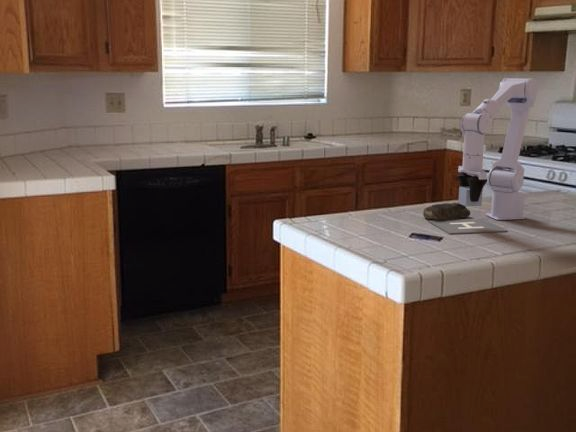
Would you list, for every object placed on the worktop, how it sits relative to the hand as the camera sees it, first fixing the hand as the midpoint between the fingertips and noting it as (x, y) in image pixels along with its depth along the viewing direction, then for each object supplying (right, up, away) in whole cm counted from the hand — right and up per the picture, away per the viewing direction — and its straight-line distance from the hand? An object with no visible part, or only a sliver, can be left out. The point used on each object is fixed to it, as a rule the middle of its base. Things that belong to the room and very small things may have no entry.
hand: (470, 199), depth 192 cm
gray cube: (0, -1, 0) cm, 1 cm away
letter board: (0, -8, +2) cm, 8 cm away
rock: (-4, -6, +14) cm, 15 cm away
